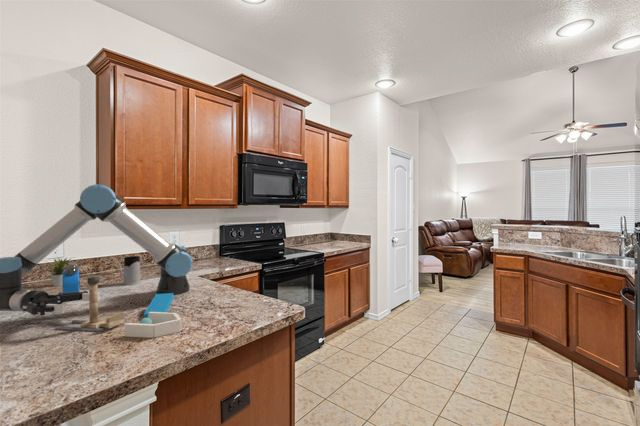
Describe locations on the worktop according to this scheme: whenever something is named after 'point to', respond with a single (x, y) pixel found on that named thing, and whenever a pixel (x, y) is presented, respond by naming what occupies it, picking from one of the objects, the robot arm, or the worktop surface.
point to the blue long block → (160, 303)
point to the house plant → (58, 271)
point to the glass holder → (131, 270)
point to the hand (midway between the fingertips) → (82, 302)
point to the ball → (146, 321)
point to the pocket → (155, 325)
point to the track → (79, 327)
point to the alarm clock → (71, 279)
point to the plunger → (93, 307)
